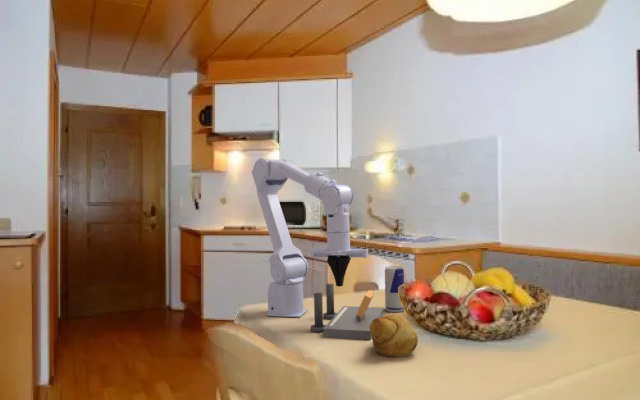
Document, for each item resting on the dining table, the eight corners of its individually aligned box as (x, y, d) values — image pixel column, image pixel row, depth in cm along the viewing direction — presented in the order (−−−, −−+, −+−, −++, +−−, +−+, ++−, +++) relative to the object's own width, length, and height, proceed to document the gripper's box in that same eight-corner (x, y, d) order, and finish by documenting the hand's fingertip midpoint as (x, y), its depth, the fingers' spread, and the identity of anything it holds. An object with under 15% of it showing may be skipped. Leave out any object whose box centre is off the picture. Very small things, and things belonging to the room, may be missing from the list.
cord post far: (321, 319, 126) (320, 285, 126) (325, 315, 130) (324, 282, 130) (336, 320, 125) (335, 285, 125) (339, 316, 129) (338, 283, 129)
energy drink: (406, 312, 132) (405, 269, 131) (386, 312, 132) (385, 269, 132) (403, 307, 137) (402, 266, 137) (384, 308, 137) (383, 266, 137)
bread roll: (374, 339, 109) (373, 304, 108) (417, 341, 107) (416, 305, 107) (369, 359, 96) (368, 319, 96) (418, 361, 94) (417, 321, 94)
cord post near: (308, 332, 115) (307, 295, 115) (313, 327, 119) (312, 291, 119) (324, 333, 114) (323, 295, 114) (328, 328, 118) (328, 292, 118)
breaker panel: (323, 337, 111) (323, 327, 111) (343, 313, 132) (343, 305, 132) (370, 339, 108) (370, 330, 108) (383, 315, 129) (383, 307, 129)
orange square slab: (354, 318, 117) (364, 295, 116) (358, 312, 123) (368, 290, 122) (360, 321, 117) (370, 298, 116) (364, 315, 122) (374, 293, 122)
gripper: (306, 233, 119) (307, 287, 119) (363, 233, 115) (365, 289, 115) (314, 231, 126) (315, 282, 126) (368, 231, 122) (370, 284, 122)
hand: (339, 285), depth 121 cm, fingers closed
